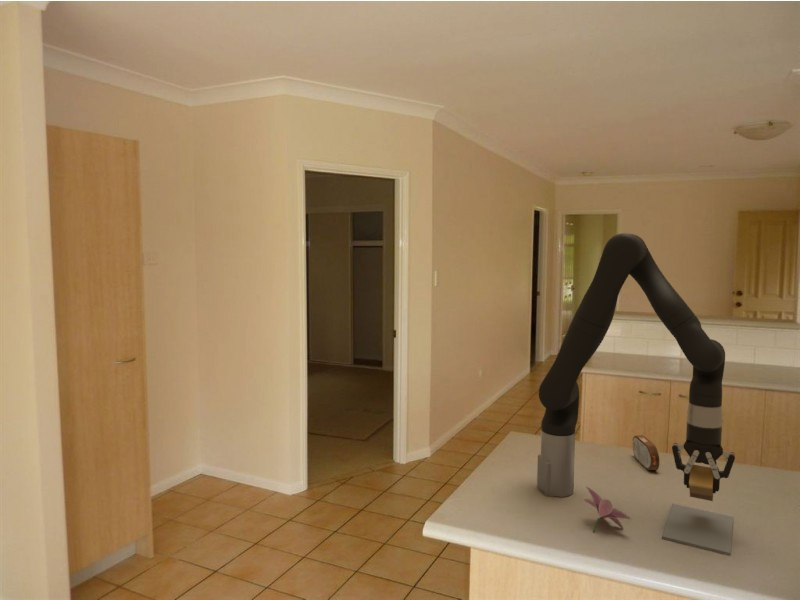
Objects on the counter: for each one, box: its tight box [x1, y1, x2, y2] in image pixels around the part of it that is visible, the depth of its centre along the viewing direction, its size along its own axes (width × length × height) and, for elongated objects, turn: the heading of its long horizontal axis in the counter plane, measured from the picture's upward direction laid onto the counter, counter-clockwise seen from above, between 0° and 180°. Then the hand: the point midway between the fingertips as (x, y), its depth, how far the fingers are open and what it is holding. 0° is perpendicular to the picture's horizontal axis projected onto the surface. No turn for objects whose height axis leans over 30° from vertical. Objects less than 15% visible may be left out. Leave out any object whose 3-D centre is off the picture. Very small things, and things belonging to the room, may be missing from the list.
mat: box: [661, 503, 734, 556], centre depth 139 cm, size 20×14×1 cm
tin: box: [632, 434, 660, 471], centre depth 179 cm, size 15×3×8 cm, turn 179°
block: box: [688, 464, 714, 502], centre depth 140 cm, size 5×5×8 cm
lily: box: [583, 486, 632, 533], centre depth 139 cm, size 12×12×10 cm
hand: (701, 489), depth 139 cm, fingers closed on block, 5 cm apart
